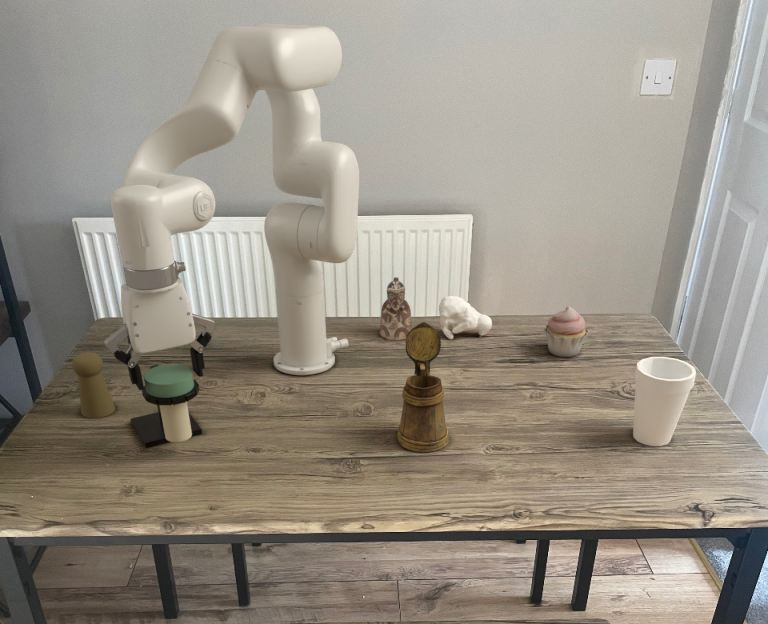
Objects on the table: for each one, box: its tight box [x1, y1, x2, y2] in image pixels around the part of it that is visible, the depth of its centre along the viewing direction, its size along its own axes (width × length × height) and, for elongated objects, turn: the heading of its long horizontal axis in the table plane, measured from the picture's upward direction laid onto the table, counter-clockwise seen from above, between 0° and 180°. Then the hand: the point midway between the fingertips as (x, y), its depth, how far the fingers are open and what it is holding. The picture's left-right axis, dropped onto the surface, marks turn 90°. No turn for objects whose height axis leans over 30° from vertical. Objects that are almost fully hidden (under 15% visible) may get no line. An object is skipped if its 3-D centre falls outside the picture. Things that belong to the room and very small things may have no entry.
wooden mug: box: [397, 321, 450, 453], centre depth 136 cm, size 9×14×18 cm, turn 179°
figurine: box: [378, 276, 413, 341], centre depth 174 cm, size 7×7×12 cm
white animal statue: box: [438, 295, 493, 340], centre depth 175 cm, size 6×8×12 cm
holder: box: [129, 364, 203, 449], centre depth 137 cm, size 10×18×12 cm, turn 29°
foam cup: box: [632, 356, 697, 447], centre depth 136 cm, size 10×9×13 cm
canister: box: [143, 363, 194, 443], centre depth 132 cm, size 8×8×11 cm
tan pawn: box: [71, 351, 116, 419], centre depth 146 cm, size 6×6×11 cm
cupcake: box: [542, 305, 590, 358], centre depth 167 cm, size 9×9×10 cm
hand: (169, 380), depth 129 cm, fingers open, 9 cm apart
